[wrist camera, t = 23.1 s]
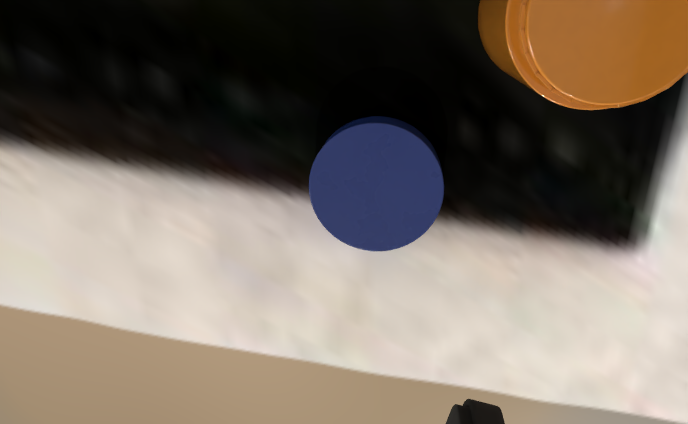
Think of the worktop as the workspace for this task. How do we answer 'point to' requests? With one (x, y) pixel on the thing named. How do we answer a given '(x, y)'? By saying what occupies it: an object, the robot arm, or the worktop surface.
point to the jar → (588, 47)
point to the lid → (377, 184)
